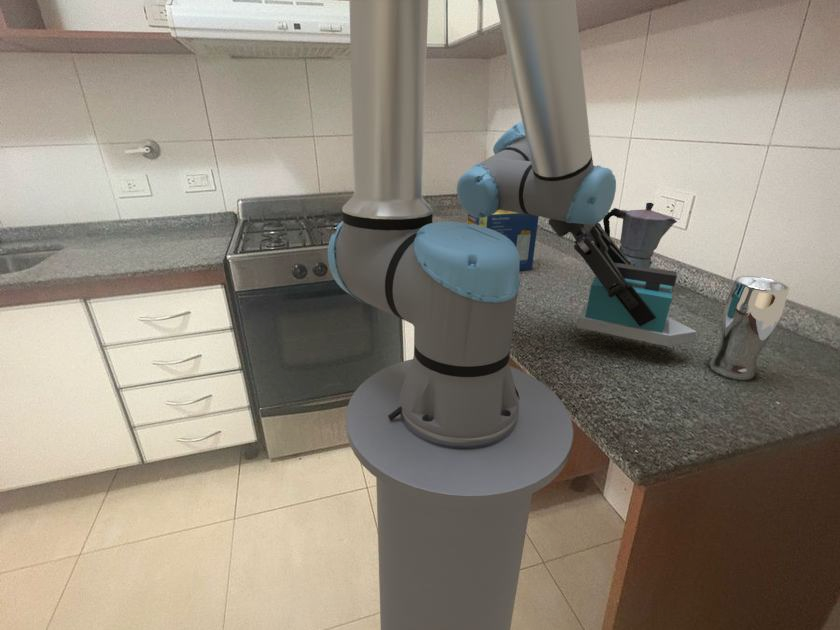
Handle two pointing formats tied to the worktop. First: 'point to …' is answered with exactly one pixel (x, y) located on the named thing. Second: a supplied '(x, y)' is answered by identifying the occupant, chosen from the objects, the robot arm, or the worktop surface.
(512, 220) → the protein box
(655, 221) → the moka pot
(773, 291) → the beer glass
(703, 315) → the worktop surface
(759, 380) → the worktop surface
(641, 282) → the teal slab with bar
